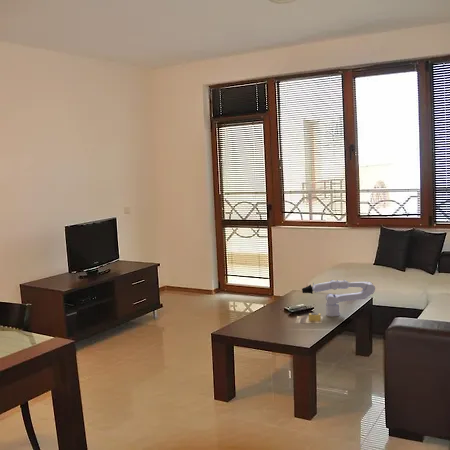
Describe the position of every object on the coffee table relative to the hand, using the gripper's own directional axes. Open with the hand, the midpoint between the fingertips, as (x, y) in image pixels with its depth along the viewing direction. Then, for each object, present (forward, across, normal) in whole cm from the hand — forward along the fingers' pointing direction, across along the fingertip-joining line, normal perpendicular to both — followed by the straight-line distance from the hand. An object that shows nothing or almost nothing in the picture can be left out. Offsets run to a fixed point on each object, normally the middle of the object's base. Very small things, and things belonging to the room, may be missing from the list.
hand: (302, 290), depth 395 cm
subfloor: (0, +8, +21) cm, 22 cm away
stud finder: (-5, +8, +20) cm, 22 cm away
